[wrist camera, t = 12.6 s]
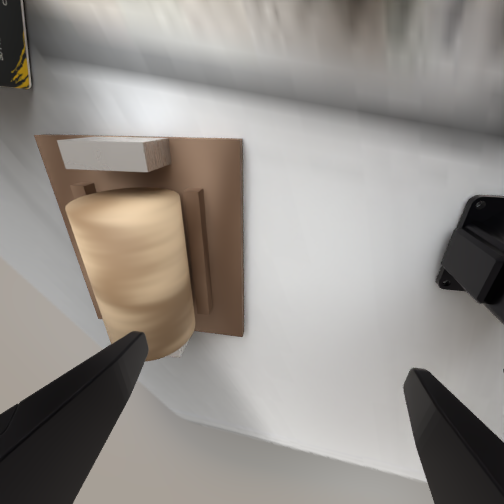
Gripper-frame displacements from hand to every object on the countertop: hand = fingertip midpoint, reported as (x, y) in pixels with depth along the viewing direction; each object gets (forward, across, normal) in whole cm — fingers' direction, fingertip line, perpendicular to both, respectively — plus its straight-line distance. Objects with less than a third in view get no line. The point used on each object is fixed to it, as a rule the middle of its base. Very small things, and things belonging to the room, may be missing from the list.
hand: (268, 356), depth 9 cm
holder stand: (+11, +10, +2) cm, 15 cm away
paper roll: (+10, +10, +2) cm, 14 cm away
